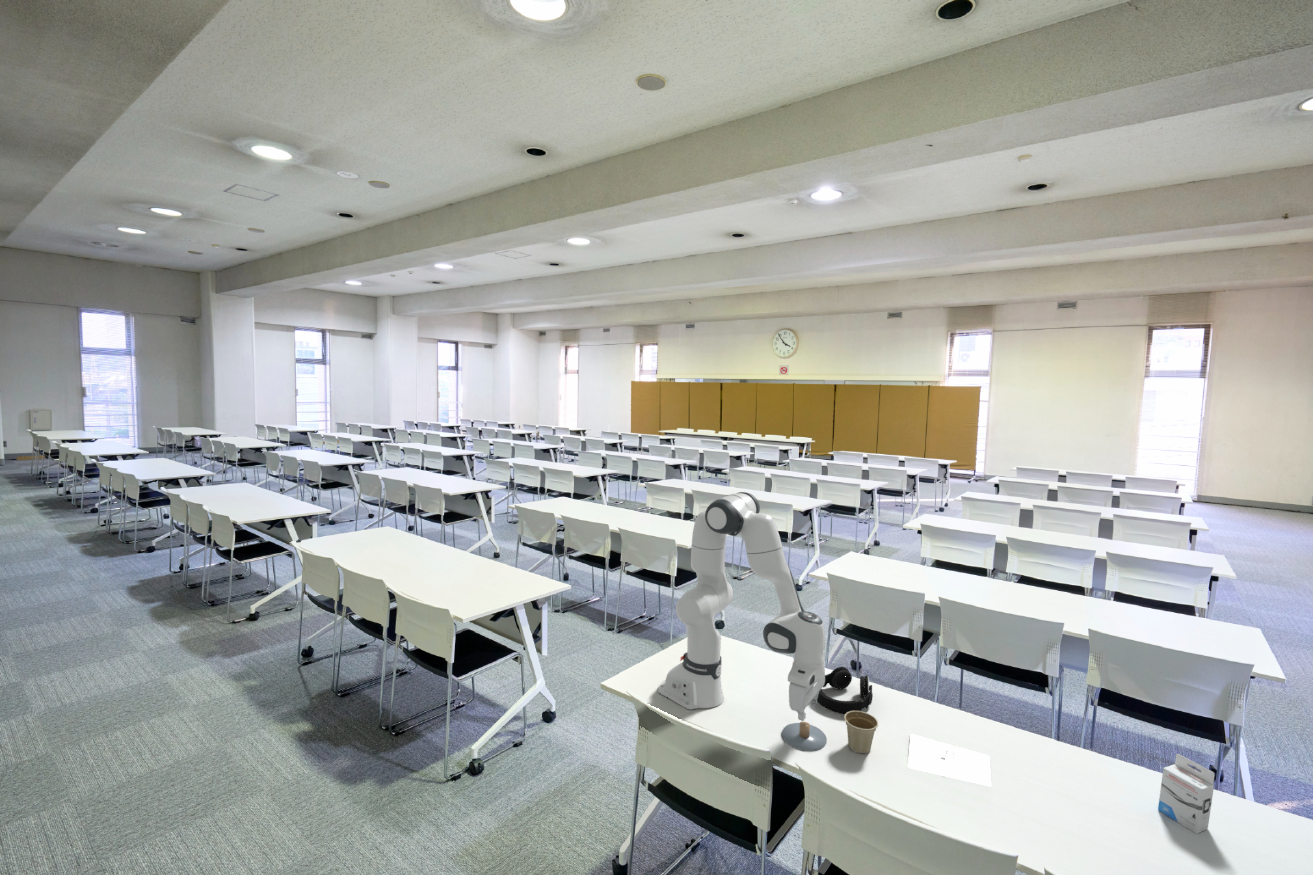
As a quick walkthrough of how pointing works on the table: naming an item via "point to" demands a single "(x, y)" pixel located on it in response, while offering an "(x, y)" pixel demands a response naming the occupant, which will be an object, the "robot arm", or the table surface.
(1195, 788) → the ink box
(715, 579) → the robot arm
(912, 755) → the paper sheet
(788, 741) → the lid
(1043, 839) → the table surface
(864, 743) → the flower pot
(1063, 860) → the table surface
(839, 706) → the headphones
